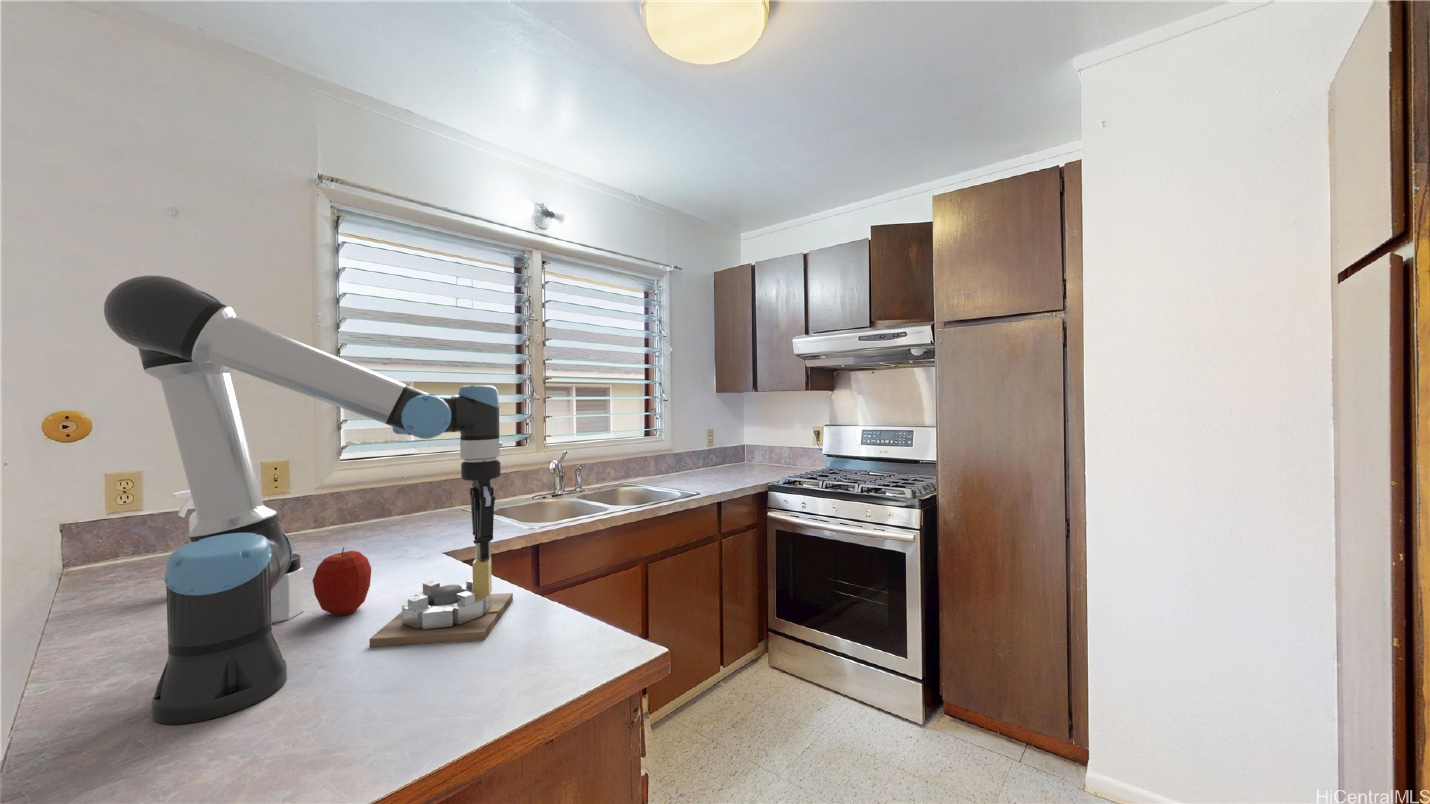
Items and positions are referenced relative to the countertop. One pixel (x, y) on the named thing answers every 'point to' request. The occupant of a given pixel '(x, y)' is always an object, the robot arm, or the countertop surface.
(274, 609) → the jar
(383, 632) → the board
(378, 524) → the countertop surface
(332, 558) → the apple
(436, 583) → the white blocky ring
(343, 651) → the countertop surface
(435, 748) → the countertop surface
